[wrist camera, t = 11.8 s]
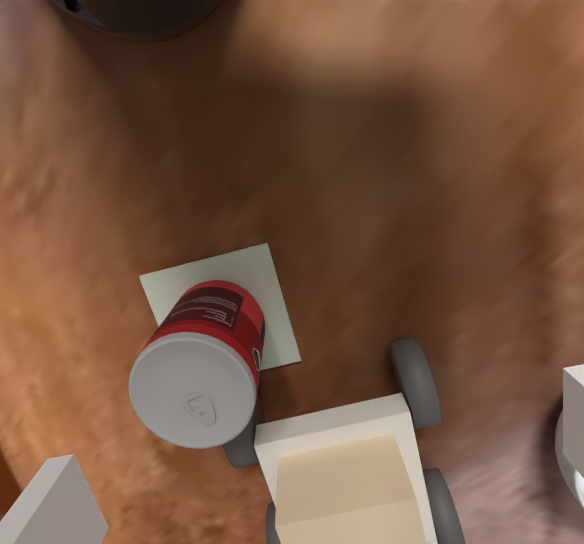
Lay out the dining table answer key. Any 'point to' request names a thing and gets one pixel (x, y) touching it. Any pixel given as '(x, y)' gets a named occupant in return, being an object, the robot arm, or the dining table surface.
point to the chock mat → (243, 272)
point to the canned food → (201, 367)
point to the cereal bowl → (568, 466)
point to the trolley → (355, 467)
